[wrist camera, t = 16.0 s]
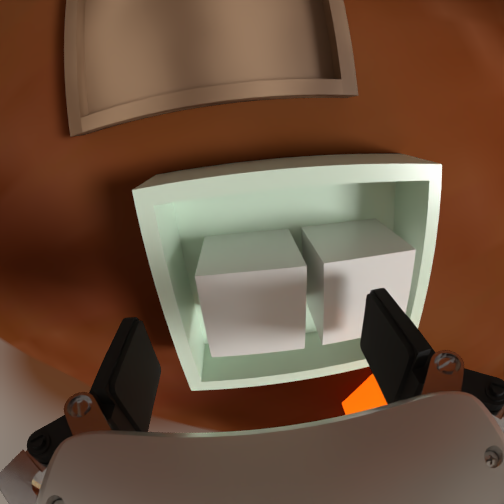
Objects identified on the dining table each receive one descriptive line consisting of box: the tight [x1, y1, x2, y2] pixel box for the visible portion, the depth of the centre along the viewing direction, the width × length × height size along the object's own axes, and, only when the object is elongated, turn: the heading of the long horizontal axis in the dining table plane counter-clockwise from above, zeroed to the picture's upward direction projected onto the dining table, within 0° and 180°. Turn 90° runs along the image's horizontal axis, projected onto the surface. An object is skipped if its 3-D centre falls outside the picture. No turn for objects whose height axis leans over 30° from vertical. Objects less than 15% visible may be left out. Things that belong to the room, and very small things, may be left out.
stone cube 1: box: [301, 219, 416, 345], centre depth 15 cm, size 4×4×4 cm
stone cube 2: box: [195, 229, 307, 357], centre depth 15 cm, size 4×4×4 cm
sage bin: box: [132, 154, 442, 391], centre depth 15 cm, size 14×12×4 cm
